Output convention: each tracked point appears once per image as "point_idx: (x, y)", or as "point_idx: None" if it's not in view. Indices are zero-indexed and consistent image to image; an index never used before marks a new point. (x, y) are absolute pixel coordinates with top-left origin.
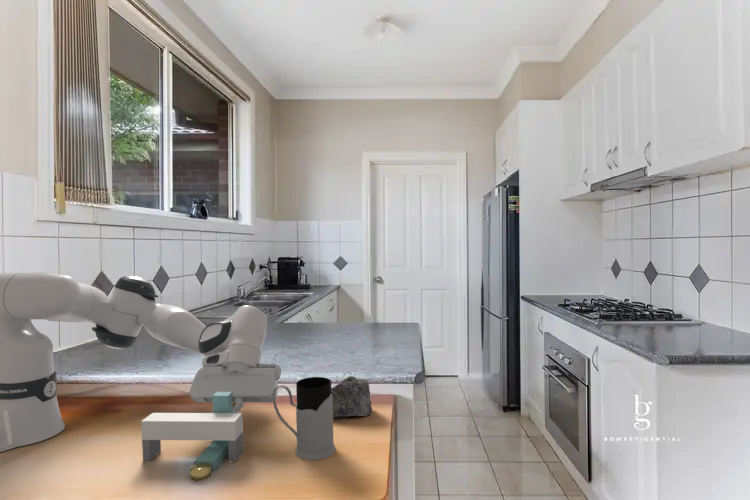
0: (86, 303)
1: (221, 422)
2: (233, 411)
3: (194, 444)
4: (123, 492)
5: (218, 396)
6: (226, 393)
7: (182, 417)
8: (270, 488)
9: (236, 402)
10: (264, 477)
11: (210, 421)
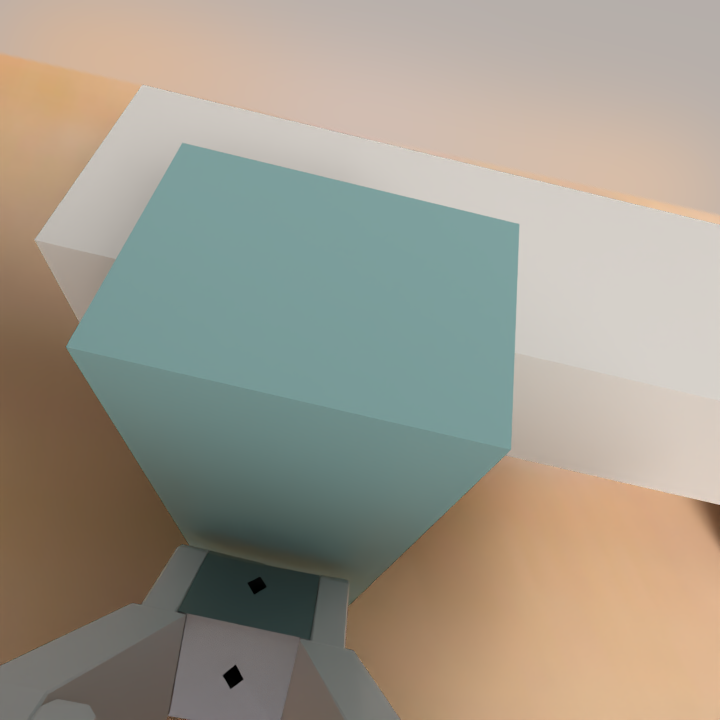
0: None
1: (275, 124)
2: (163, 591)
3: (542, 649)
4: (640, 202)
5: (391, 211)
6: (230, 272)
7: (717, 294)
8: (43, 88)
9: (66, 705)
10: (53, 156)
11: (384, 145)
